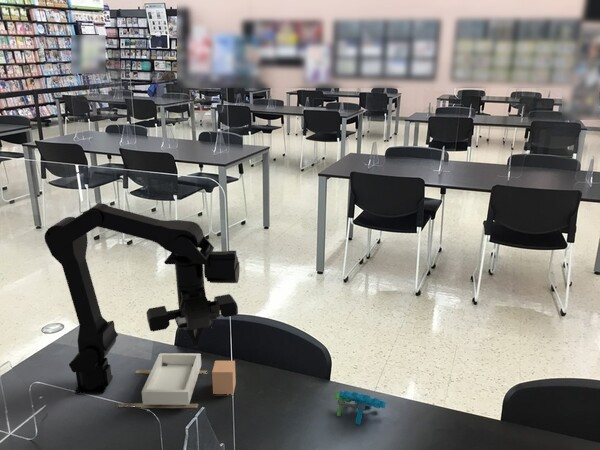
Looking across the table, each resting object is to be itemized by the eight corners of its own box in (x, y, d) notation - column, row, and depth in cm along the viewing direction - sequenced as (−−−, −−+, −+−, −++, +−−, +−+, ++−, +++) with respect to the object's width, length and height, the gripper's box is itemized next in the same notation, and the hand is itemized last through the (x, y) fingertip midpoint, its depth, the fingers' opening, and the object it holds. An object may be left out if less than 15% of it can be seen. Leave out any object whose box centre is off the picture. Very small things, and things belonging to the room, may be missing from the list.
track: (117, 407, 109) (117, 406, 109) (136, 370, 122) (136, 370, 122) (197, 408, 110) (197, 407, 110) (207, 371, 123) (207, 370, 122)
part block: (213, 395, 114) (212, 372, 112) (216, 383, 118) (215, 360, 116) (233, 395, 114) (232, 372, 112) (235, 383, 118) (234, 360, 116)
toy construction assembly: (392, 404, 109) (379, 393, 101) (387, 433, 106) (373, 424, 99) (344, 395, 114) (328, 384, 106) (339, 422, 112) (322, 413, 104)
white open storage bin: (143, 407, 109) (141, 391, 108) (160, 367, 123) (159, 353, 122) (189, 407, 109) (188, 392, 108) (201, 368, 123) (200, 353, 122)
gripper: (149, 305, 97) (157, 376, 102) (243, 289, 104) (246, 355, 109) (143, 283, 107) (150, 348, 112) (229, 269, 114) (232, 331, 119)
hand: (195, 346), depth 113 cm, fingers closed
